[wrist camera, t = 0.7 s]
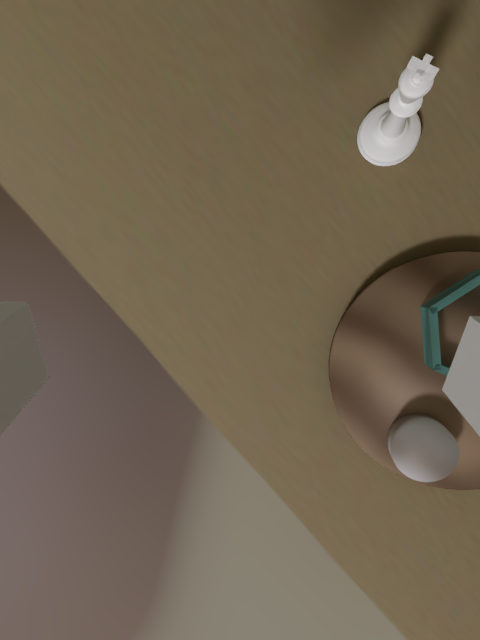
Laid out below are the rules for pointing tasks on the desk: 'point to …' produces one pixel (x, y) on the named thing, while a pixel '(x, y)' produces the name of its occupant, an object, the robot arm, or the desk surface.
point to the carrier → (409, 369)
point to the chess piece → (397, 117)
